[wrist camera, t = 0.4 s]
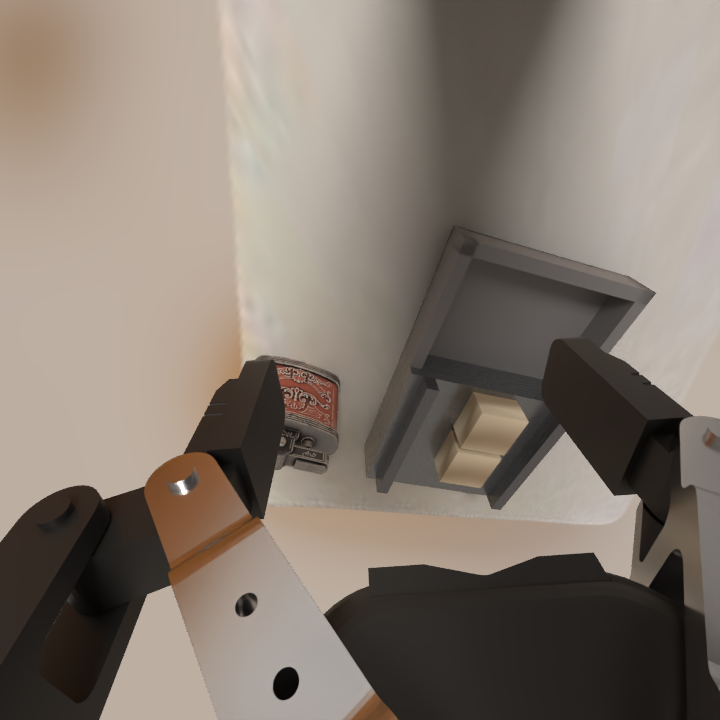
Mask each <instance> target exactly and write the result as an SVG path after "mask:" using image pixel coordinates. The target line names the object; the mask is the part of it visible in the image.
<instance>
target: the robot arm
mask: <svg viewBox="0 0 720 720" xmlns="http://www.w3.org/2000/svg"><path fill="white" fill-rule="evenodd" d="M542 396H543V400H544V402H545V404H546V406H547V407H548V408H549V410H550V411H551V412H552V414H553V415H554V416H555V418H556V419H557V420H558V422H559V423H560V424H561V426H562V427H563V428H564V430H565V431H566V432H567V434H568V435H569V436H570V438H571V439H572V440H573V442H574V443H575V444H576V446H577V447H578V448H579V450H580V451H581V452H582V454H583V455H584V456H585V458H586V459H587V460H588V462H589V463H590V464H591V466H592V467H593V468H594V470H595V471H596V472H597V474H598V475H599V476H600V478H601V479H602V480H603V481H604V483H605V484H606V485H607V487H608V488H609V489H610V491H611V492H612V493H613V495H614V496H616V495H630V494H637V495H638V496H639V497H640V498H641V501H640V503H639V505H638V507H637V513H636V524H635V535H634V547H633V559H632V569H631V575H630V579H627V578H625V577H621V576H618V575H614V574H611V573H606V572H605V571H604V569H603V567H602V566H601V564H600V562H599V561H598V559H597V557H596V556H595V554H594V553H583V554H567V555H553V556H538V557H535V558H533V559H530V560H528V561H525V562H523V563H520V564H517V565H514V566H512V567H509V568H506V569H504V570H501V571H498V572H496V573H493V574H490V575H477V574H471V573H466V572H461V571H455V570H450V569H445V568H440V567H434V566H429V565H424V564H423V565H410V566H394V567H380V568H368V570H369V586H368V587H365V588H363V589H360V590H357V591H356V592H354V593H352V594H350V595H348V596H346V597H345V598H343V599H342V600H340V601H339V602H338V603H336V604H335V605H333V606H332V607H331V608H330V609H329V610H328V611H327V612H326V613H325V614H323V613H322V612H321V610H320V609H319V607H318V606H317V604H316V603H315V601H314V600H313V598H312V597H311V595H310V594H309V592H308V591H307V589H306V588H305V586H304V585H303V583H302V582H301V580H300V578H299V577H298V575H297V574H296V572H295V571H294V569H293V568H292V566H291V565H290V563H289V562H288V560H287V559H286V558H285V556H284V554H283V553H282V551H281V550H280V548H279V547H278V545H277V544H276V542H275V541H274V539H273V538H272V536H271V535H270V533H269V532H268V530H267V529H266V527H265V526H264V524H263V523H262V521H261V520H260V519H264V515H265V510H266V506H267V501H268V497H269V492H270V488H271V483H272V478H273V474H274V469H275V465H276V460H277V455H278V451H279V446H280V442H281V437H282V432H283V428H284V423H285V404H284V399H283V394H282V390H281V385H280V381H279V376H278V372H277V367H276V364H275V361H274V360H273V359H266V360H253V361H246V363H245V365H244V367H243V369H242V371H241V373H240V376H239V378H238V379H229V380H228V381H227V382H226V383H225V384H223V385H222V386H221V387H220V388H219V389H218V390H216V392H215V394H214V396H213V398H212V400H211V402H210V406H208V408H207V410H206V412H205V414H204V415H205V416H204V417H202V419H201V421H200V423H199V425H198V427H197V429H196V431H195V433H194V435H193V437H192V439H191V440H190V442H189V444H188V447H187V448H186V450H185V452H184V454H183V455H180V456H177V457H175V458H173V459H171V460H169V461H167V462H165V463H164V464H163V465H161V466H160V467H159V468H158V469H156V470H155V471H154V472H153V473H152V475H151V476H150V477H149V479H148V481H147V483H146V485H145V487H142V488H139V489H136V490H133V491H130V492H126V493H123V494H120V495H117V496H114V497H111V498H107V499H105V500H103V499H102V498H101V496H100V495H99V493H98V492H97V490H96V489H94V488H93V487H90V486H84V485H82V486H73V487H69V488H66V489H63V490H60V491H57V492H55V493H53V494H51V495H49V496H47V497H46V498H44V499H42V500H41V501H39V502H38V503H36V504H35V505H34V506H32V507H31V508H30V509H29V510H27V511H26V513H24V514H23V515H22V516H21V518H20V519H19V520H18V521H17V522H16V523H15V525H14V526H13V527H12V528H11V530H10V531H9V532H8V533H7V535H6V536H5V537H4V538H3V540H2V541H1V542H0V720H99V718H100V716H101V713H102V711H103V708H104V706H105V703H106V700H107V698H108V695H109V692H110V690H111V687H112V684H113V682H114V679H115V677H116V674H117V671H118V669H119V666H120V663H121V661H122V659H123V656H124V653H125V651H126V648H127V645H128V643H129V640H130V637H131V635H132V632H133V630H134V627H135V625H136V622H137V619H138V617H139V614H140V611H141V609H142V606H143V603H144V601H145V598H146V596H147V594H149V593H152V592H154V591H157V590H160V589H162V588H165V587H167V586H170V585H171V586H172V589H173V592H174V595H175V598H176V600H177V603H178V606H179V609H180V612H181V615H182V618H183V620H184V623H185V626H186V629H187V632H188V635H189V638H190V641H191V644H192V646H193V649H194V652H195V655H196V658H197V661H198V664H199V666H200V670H201V672H202V675H203V678H204V681H205V684H206V687H207V690H208V693H209V695H210V698H211V701H212V704H213V707H214V710H215V713H216V716H217V718H218V720H720V419H718V418H713V417H706V416H693V415H691V414H690V413H689V412H688V411H686V410H685V409H684V408H683V407H681V406H680V405H679V404H678V403H676V402H675V401H674V400H673V399H671V398H670V397H669V396H668V395H666V394H665V393H664V392H663V391H661V390H660V389H659V388H658V387H656V386H655V385H651V382H650V381H649V380H648V379H646V378H645V377H644V376H642V375H639V372H637V371H636V370H635V369H634V368H632V367H631V366H630V365H629V364H627V363H626V362H625V361H623V360H621V359H618V358H616V357H614V356H612V355H610V354H608V353H606V352H604V351H603V350H601V349H600V348H599V347H598V346H597V345H595V344H594V343H593V342H592V341H590V340H589V339H588V338H586V337H574V338H561V339H556V340H554V341H553V343H552V344H551V347H550V351H549V356H548V360H547V364H546V368H545V373H544V377H543V381H542ZM65 602H66V603H65ZM59 613H60V614H59ZM54 622H55V623H54ZM49 631H50V632H49Z"/></svg>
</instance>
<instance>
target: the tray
mask: <svg viewBox="0 0 720 720" xmlns="http://www.w3.org/2000/svg"><path fill="white" fill-rule="evenodd" d="M655 294H656V293H655V292H654V291H652V290H650V289H649V288H647V287H646V286H644V285H642V284H641V283H639V282H637V281H636V280H634V279H632V278H631V277H628V276H625V275H621V274H618V273H614V272H611V271H608V270H604V269H601V268H597V267H594V266H590V265H587V264H583V263H580V262H576V261H573V260H569V259H566V258H563V257H559V256H556V255H552V254H549V253H545V252H542V251H538V250H535V249H531V248H528V247H524V246H521V245H517V244H514V243H511V242H507V241H504V240H500V239H497V238H493V237H490V236H486V235H483V234H479V233H476V232H472V231H469V230H466V229H462V228H459V227H455V226H454V227H453V230H452V232H451V235H450V237H449V240H448V242H447V245H446V247H445V250H444V252H443V254H442V257H441V259H440V262H439V264H438V267H437V269H436V272H435V274H434V277H433V279H432V281H431V284H430V286H429V289H428V291H427V294H426V296H425V299H424V301H423V304H422V306H421V308H420V311H419V313H418V316H417V318H416V321H415V323H414V326H413V328H412V331H411V333H410V336H409V338H408V340H407V343H406V345H405V348H406V352H407V356H408V360H409V364H410V367H415V368H420V369H422V367H423V365H424V363H425V360H426V358H427V356H428V354H429V355H434V356H438V357H443V358H447V359H452V360H457V361H461V362H466V363H470V364H475V365H479V366H484V367H488V368H493V369H498V370H502V371H507V372H511V373H516V374H520V375H525V376H529V377H534V378H539V379H543V377H544V373H545V368H546V364H547V360H548V356H549V351H550V347H551V344H552V343H553V341H554V340H556V339H561V338H574V337H586V338H588V339H589V340H590V341H592V342H593V343H594V344H595V345H597V346H598V347H599V348H600V349H601V350H603V351H604V352H606V353H609V352H610V351H611V350H612V348H613V347H614V346H615V345H616V343H617V342H618V341H619V339H620V338H621V337H622V336H623V334H624V333H625V332H626V331H627V329H628V328H629V327H630V326H631V324H632V323H633V322H634V320H635V319H636V318H637V317H638V315H639V314H640V313H641V312H642V310H643V309H644V308H645V307H646V305H647V304H648V303H649V302H650V300H651V299H652V298H653V296H654V295H655Z"/></svg>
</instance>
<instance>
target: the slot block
mask: <svg viewBox="0 0 720 720" xmlns="http://www.w3.org/2000/svg"><path fill="white" fill-rule="evenodd" d="M542 381H543V379H539V378H534V377H529V376H525V375H520V374H516V373H511V372H507V371H502V370H498V369H493V368H488V367H484V366H479V365H475V364H470V363H466V362H461V361H457V360H452V359H447V358H443V357H438V356H434V355H429V354H428V356H427V358H426V360H425V363H424V365H423V367H422V369H420V368H415V367H410V364H409V360H408V356H407V352H406V348H404V350H403V353H402V355H401V358H400V360H399V363H398V365H397V367H396V370H395V372H394V375H393V377H392V380H391V382H390V385H389V387H388V390H387V392H386V394H385V397H384V399H383V402H382V404H381V407H380V409H379V412H378V414H377V417H376V419H375V422H374V424H373V426H372V429H371V431H370V434H369V436H368V439H367V441H366V444H365V464H366V477H368V478H375V479H376V485H377V492H381V493H388V491H389V489H390V487H391V485H392V483H393V481H395V482H401V483H408V484H414V485H421V486H428V487H434V488H441V489H447V490H454V491H461V492H467V493H474V494H480V495H487V498H488V501H489V503H490V506H491V509H498V510H501V508H502V507H503V506H504V505H505V504H506V502H507V501H508V500H509V499H510V498H511V496H512V495H513V494H514V493H515V492H516V490H517V489H518V488H519V487H520V486H521V484H522V483H523V482H524V481H525V480H526V478H527V477H528V476H529V475H530V473H531V472H532V471H533V470H534V469H535V467H536V466H537V465H538V464H539V463H540V461H541V460H542V459H543V458H544V457H545V455H546V454H547V453H548V452H549V451H550V449H551V448H552V447H553V446H554V445H555V443H556V442H557V441H558V440H559V439H560V437H561V436H562V435H563V434H564V433H565V430H564V428H563V427H562V426H561V424H560V423H559V422H558V420H557V419H556V418H555V416H554V415H553V414H552V412H551V411H550V410H549V408H548V407H547V406H546V404H545V402H544V400H543V396H542ZM473 392H476V393H481V394H486V395H491V396H496V397H501V398H505V399H510V400H515V401H517V402H518V404H519V406H520V407H521V409H522V411H523V413H524V414H525V416H526V418H527V419H528V421H529V423H528V424H527V426H526V427H525V428H524V430H523V431H522V432H521V434H520V435H519V436H518V438H517V439H516V441H515V442H514V443H513V445H512V446H511V447H510V449H509V450H508V451H507V453H506V454H505V455H504V456H503V455H500V457H501V461H500V462H499V464H498V465H497V466H496V468H495V469H494V470H493V472H492V473H491V474H490V476H489V477H488V479H487V480H486V481H485V483H484V484H483V485H482V487H481V488H476V487H470V486H463V485H457V484H450V483H444V482H439V478H438V474H437V470H436V466H435V462H434V458H435V457H436V455H437V453H438V452H439V450H440V448H441V446H442V445H443V443H444V441H445V439H446V438H447V436H448V434H449V433H450V431H451V430H454V427H453V426H454V424H455V422H456V420H457V419H458V417H459V415H460V414H461V412H462V410H463V408H464V407H465V405H466V403H467V402H468V400H469V398H470V396H471V395H472V393H473ZM454 431H455V430H454Z"/></svg>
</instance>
